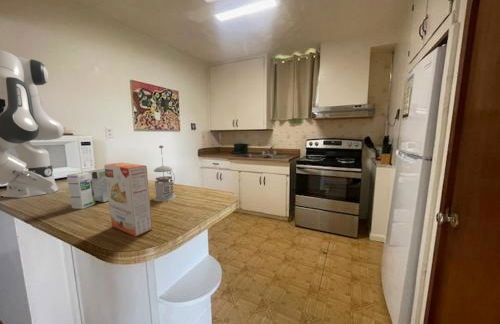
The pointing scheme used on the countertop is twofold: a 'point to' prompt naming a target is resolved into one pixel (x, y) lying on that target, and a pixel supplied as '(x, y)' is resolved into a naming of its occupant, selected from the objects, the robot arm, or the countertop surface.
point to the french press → (164, 184)
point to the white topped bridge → (98, 173)
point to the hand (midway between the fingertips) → (51, 191)
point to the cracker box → (129, 197)
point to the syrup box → (81, 190)
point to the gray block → (100, 188)
